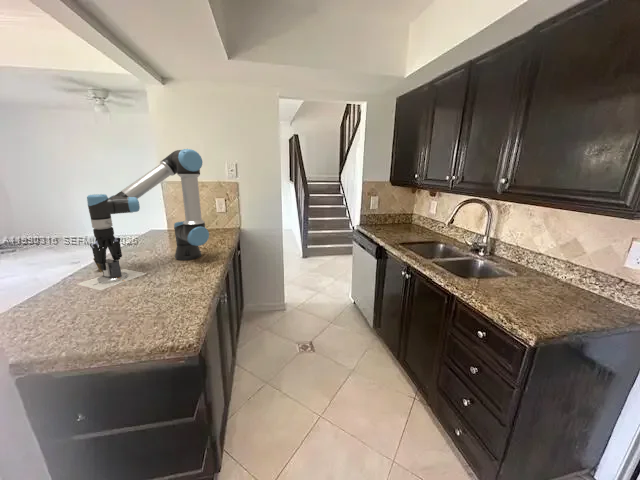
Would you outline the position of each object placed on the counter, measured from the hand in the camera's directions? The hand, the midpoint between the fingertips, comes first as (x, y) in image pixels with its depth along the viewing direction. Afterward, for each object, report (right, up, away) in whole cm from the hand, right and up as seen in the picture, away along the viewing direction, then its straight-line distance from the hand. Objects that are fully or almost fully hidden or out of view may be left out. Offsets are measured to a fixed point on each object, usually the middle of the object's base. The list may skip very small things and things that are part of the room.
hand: (112, 274), depth 133 cm
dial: (0, -2, 0) cm, 2 cm away
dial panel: (0, -4, +1) cm, 4 cm away
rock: (-14, -1, +14) cm, 20 cm away
